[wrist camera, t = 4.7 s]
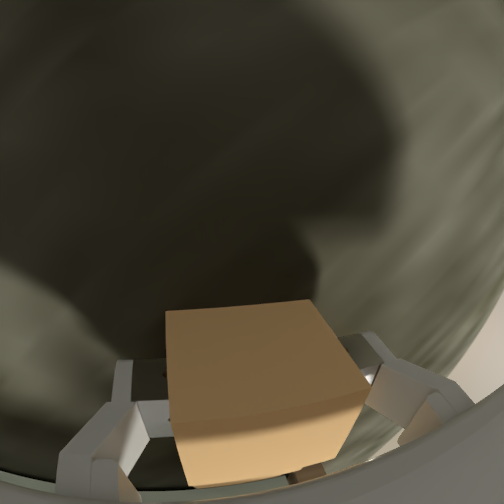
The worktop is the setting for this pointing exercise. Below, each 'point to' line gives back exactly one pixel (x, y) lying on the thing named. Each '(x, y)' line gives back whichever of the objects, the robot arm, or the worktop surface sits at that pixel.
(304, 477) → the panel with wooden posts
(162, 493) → the door leaf
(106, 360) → the worktop surface
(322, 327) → the tan long block
